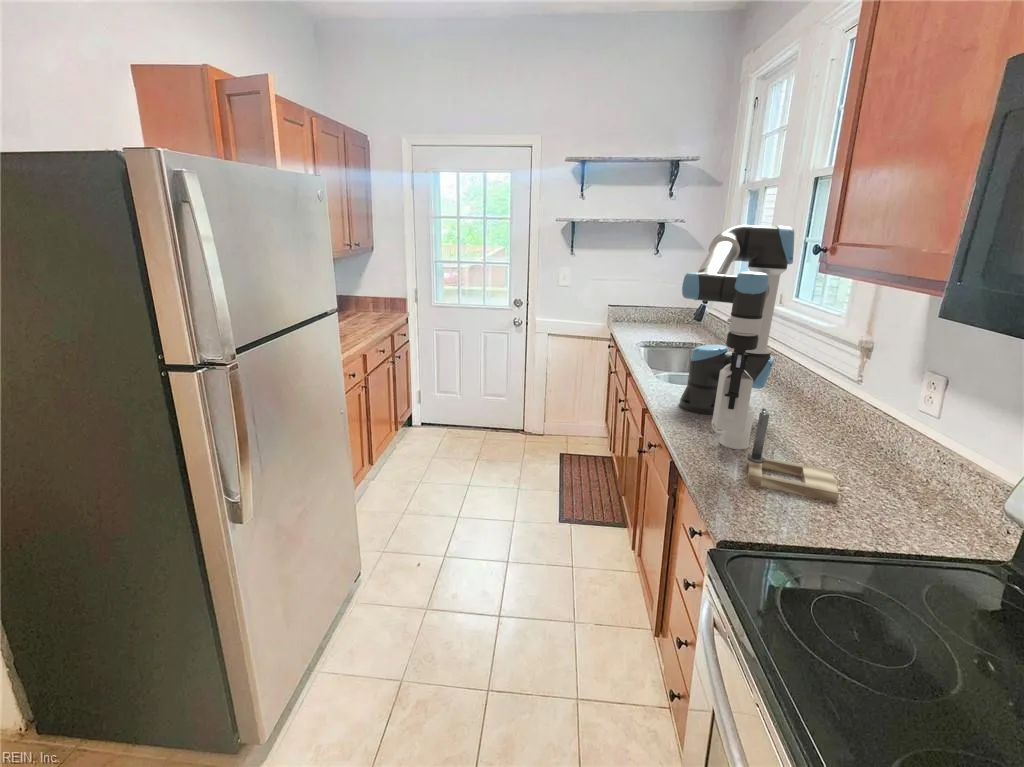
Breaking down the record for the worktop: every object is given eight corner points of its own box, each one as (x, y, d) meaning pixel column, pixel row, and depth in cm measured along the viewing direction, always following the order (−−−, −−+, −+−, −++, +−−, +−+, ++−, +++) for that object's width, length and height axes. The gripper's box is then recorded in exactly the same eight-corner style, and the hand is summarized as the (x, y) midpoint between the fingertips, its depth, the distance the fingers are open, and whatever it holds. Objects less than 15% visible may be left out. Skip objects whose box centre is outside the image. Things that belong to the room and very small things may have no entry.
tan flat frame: (748, 462, 144) (750, 454, 144) (829, 478, 137) (831, 470, 136) (747, 483, 132) (749, 474, 132) (836, 502, 124) (838, 493, 124)
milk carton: (738, 423, 144) (749, 358, 138) (744, 433, 137) (756, 365, 131) (712, 420, 145) (722, 356, 139) (716, 430, 138) (726, 363, 132)
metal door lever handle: (746, 459, 146) (755, 407, 142) (762, 462, 145) (773, 409, 140) (745, 469, 140) (755, 415, 135) (763, 472, 138) (773, 418, 134)
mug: (710, 446, 154) (716, 409, 151) (705, 435, 162) (711, 400, 159) (751, 451, 152) (758, 413, 149) (745, 440, 160) (751, 404, 157)
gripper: (730, 324, 143) (718, 400, 150) (725, 339, 125) (712, 424, 132) (759, 327, 140) (745, 404, 147) (759, 342, 122) (743, 429, 129)
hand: (729, 413), depth 140 cm, fingers closed on milk carton, 8 cm apart
